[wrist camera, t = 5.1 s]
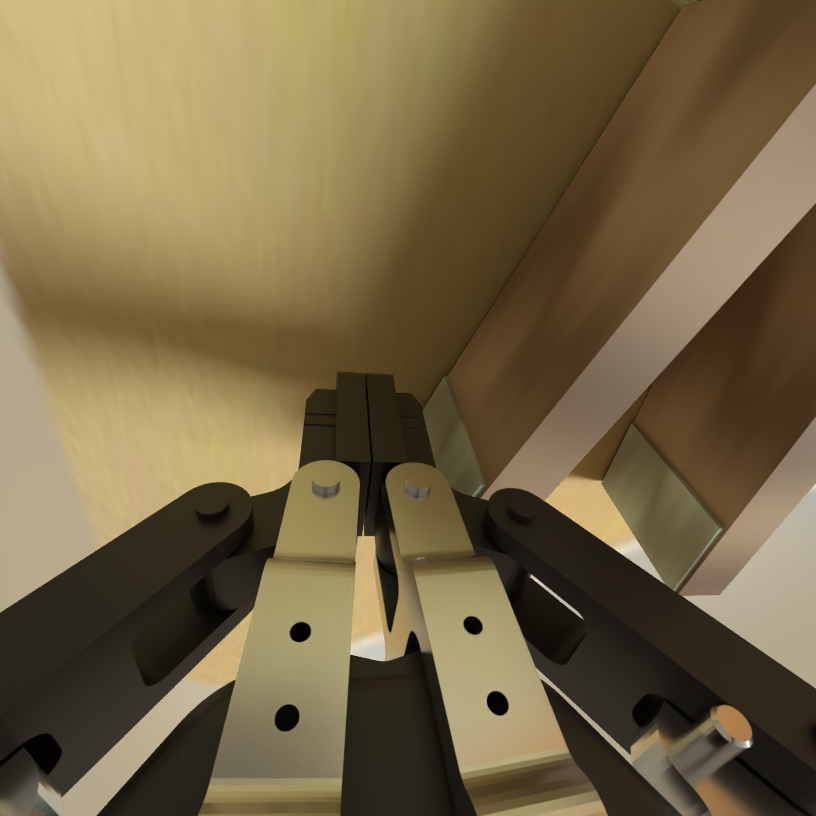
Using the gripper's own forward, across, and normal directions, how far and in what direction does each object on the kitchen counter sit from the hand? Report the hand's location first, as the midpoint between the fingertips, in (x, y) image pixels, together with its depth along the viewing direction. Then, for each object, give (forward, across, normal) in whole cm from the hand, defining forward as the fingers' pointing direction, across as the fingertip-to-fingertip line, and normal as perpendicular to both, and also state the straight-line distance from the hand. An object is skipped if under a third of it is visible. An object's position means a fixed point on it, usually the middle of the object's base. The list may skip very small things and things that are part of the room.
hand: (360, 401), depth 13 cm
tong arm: (+2, -5, -3) cm, 6 cm away
